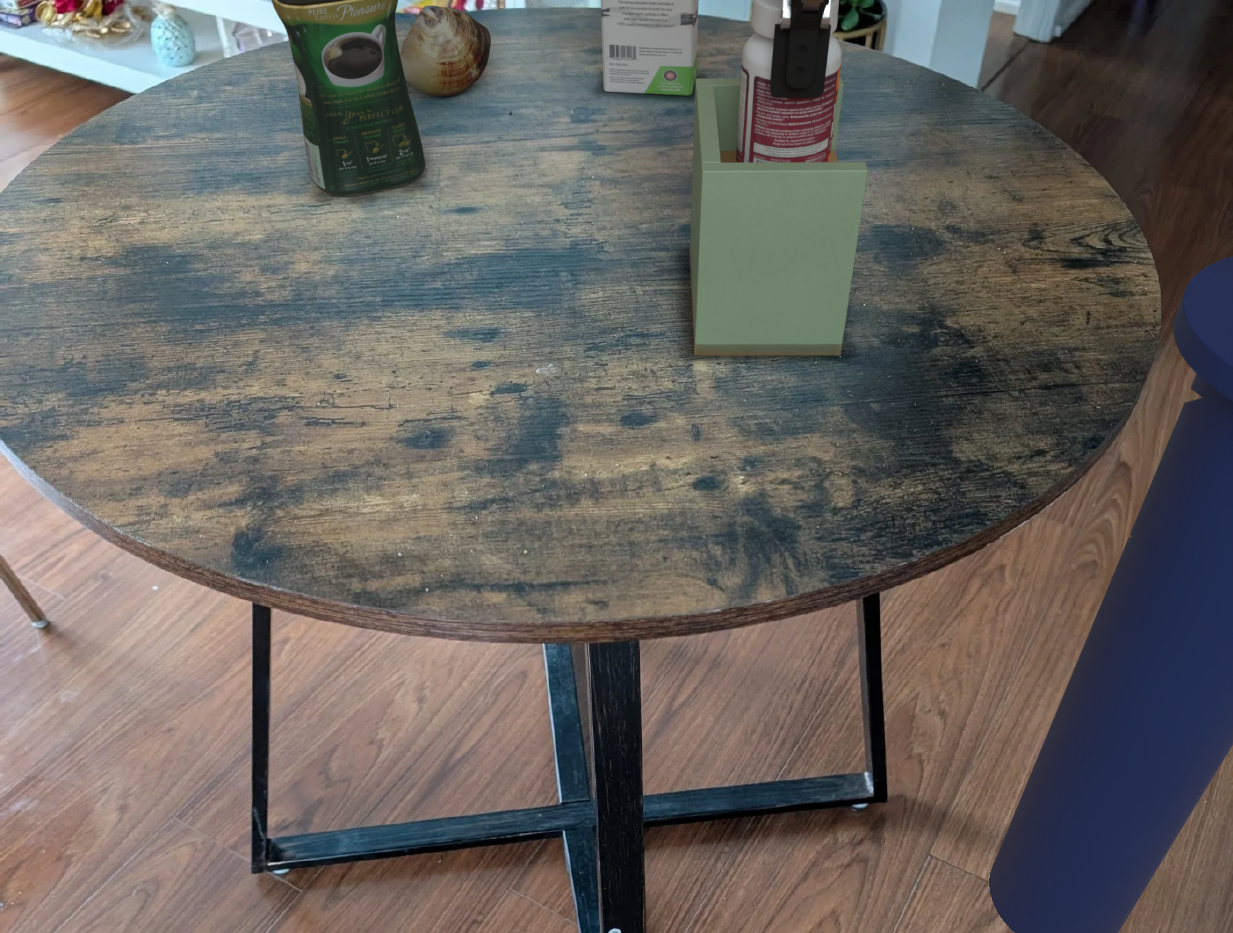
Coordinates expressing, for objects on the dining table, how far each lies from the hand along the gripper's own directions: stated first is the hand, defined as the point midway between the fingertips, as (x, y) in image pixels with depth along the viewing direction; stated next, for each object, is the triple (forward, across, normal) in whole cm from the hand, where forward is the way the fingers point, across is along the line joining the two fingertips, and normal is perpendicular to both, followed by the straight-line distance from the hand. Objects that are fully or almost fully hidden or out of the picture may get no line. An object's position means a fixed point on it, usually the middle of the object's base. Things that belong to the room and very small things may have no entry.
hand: (791, 69), depth 72 cm
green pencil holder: (+16, 0, +1) cm, 16 cm away
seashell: (+16, +37, +28) cm, 49 cm away
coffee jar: (+16, +20, +33) cm, 42 cm away
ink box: (+16, +39, +9) cm, 43 cm away
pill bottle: (+7, 0, 0) cm, 7 cm away
